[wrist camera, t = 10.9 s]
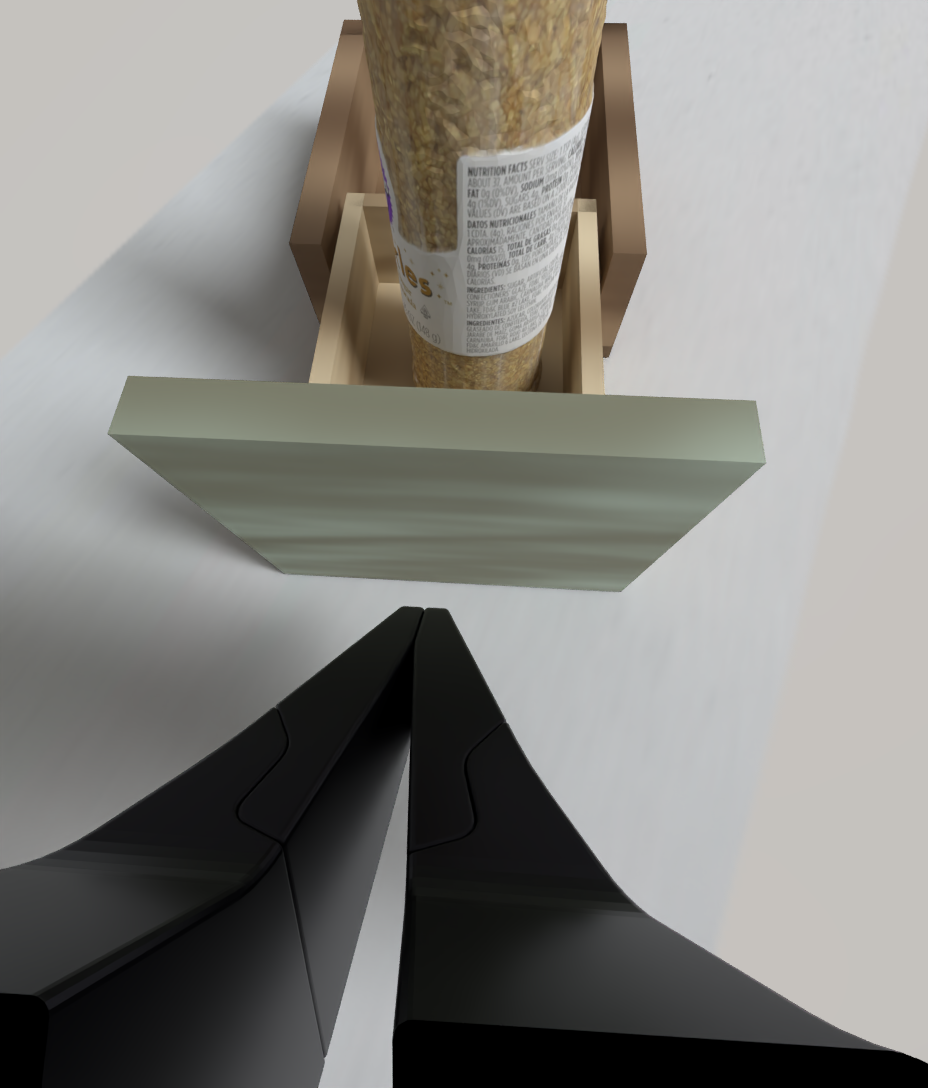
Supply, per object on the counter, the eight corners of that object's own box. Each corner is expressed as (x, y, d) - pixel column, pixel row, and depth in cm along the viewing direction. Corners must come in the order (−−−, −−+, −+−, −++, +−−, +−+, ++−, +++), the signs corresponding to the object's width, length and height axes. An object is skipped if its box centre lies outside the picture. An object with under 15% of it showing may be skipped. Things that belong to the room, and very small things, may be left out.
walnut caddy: (608, 357, 19) (646, 253, 15) (328, 346, 20) (288, 243, 15) (598, 150, 23) (626, 23, 19) (366, 145, 24) (343, 19, 19)
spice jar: (397, 344, 18) (215, -555, 5) (514, 310, 18) (602, -597, 6) (437, 447, 16) (315, -467, 4) (563, 407, 17) (828, -534, 4)
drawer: (620, 592, 16) (766, 462, 8) (284, 573, 16) (107, 434, 8) (606, 303, 20) (693, 29, 12) (337, 294, 20) (252, 24, 12)
